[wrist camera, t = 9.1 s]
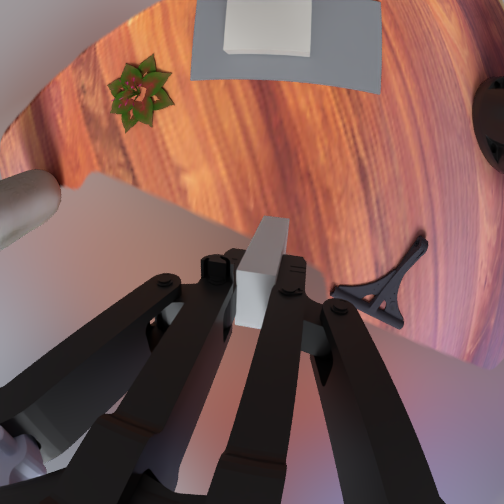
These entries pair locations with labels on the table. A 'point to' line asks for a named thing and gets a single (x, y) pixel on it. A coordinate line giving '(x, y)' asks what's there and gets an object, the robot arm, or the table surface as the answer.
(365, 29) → the mat
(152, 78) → the lily flower
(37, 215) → the grey bottle
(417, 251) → the bracket
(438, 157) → the table surface
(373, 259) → the table surface
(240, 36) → the tile
